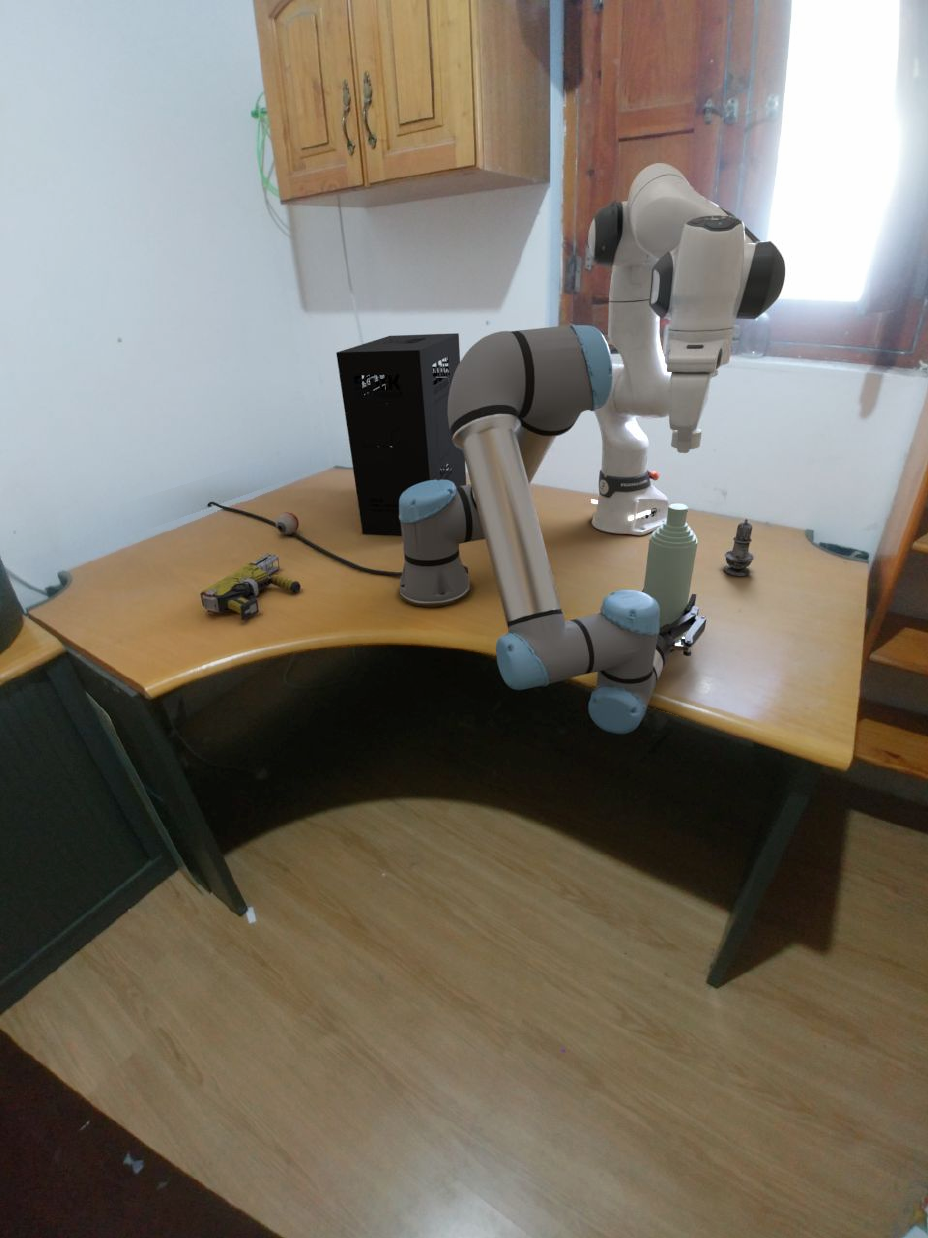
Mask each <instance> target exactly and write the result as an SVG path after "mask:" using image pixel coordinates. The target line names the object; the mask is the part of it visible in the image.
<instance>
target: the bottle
mask: <svg viewBox="0 0 928 1238" xmlns="http://www.w3.org/2000/svg"><path fill="white" fill-rule="evenodd" d="M688 512H689V506H688V505H687V504H684V503H669V506H668V514H667V521H665V522H664V524H661V525H660V527H658V528H657V529H656V530H655V531H652V532H651V534H650V536H649V540H648V541H649V542H648V548H647V549H648V550H647V557H646V567H645V575H644V583H643V588H644V590H643V589H642V590H643V592H644V593H646V594H648V595H650V596H651V597H652V598H654V599H655V600H656V601H657V602H658V605H659V608H660V625H659V627H660V628H661V627H662V626H664V625H666V624H669V625H670V624H671V623H673V622H674V621H676V620H678V619H679V618H681V617H683V616H684V615H685V610H686V607H687V605H688V602H689V600H690V592H691V587H692V581H693V574H694V569H695V561H696V556H697V549H698V544H699V543H698V542H699V540H698V536H697V534H696V533H695V532H694V531H693V530H692V528H691V526H690V525H689V524H688V522H687V514H688ZM683 635H684V633H683V634H682V635H680V636H679V637H677V638H675V639H674V641H675V642H679V640H681V638H682V637H684V636H683Z"/></svg>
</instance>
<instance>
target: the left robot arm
mask: <svg viewBox="0 0 928 1238" xmlns="http://www.w3.org/2000/svg"><path fill="white" fill-rule="evenodd" d="M612 364H613V361H612V355H611V350H610V348H609V344H608V342H607V340H606V338H605V336H604V334H603V333H602V332H601V331H600V330H599V329H598V328H597V327H595V326H593V325H591V324H590V325H589V324H580V325H579V324H574V323H571V324H568V325H559V326H550V327H549V326H548V327H539V328H530V329H519V330H500V331H496V332H492V333H490V334H488V335H485V336H483V337H482V338H480V339H479V340H478V341H476V342H475V343H474V344H473V345H472V346H471V347H469V348H468V350H467V351H466V352H465V354H464V355H463V357H462V358H461V359H460V363H459V365H458V367H457V369H456V371H455V374H454V376H453V379H452V383H451V387H450V391H449V397H448V422H449V428H450V432H451V436H452V441H453V444H454V445H455V446H456V447H457V448H459V449H461V450H463V454H464V458H465V467H466V469H467V474H468V477H469V483H470V484H466V485H463V486H458V487H456V486H455V484H454V483H453V482H452V481H449V480H443V479H441V480H438V481H437V480H430V481H425V482H422V483H418V484H416V485H414V486H411V487H410V488H408V489H407V490H406V491H404V492H403V493H402V495H401V497H400V499H399V519H400V521H401V530H402V535H401V538H402V547H403V556H404V562H403V566H402V567H403V568H402V571H387V570H380V569H374V568H368V567H364V566H361V565H359V564H357V563H355V562H352V561H349V560H348V559H345V558H342V557H340V556H338V555H336V554H334V553H332V552H330V551H328V550H327V549H325V548H322V547H320V545H319V546H318V545H317V544H316V543H314V542H312V541H311V540H308V539H307V538H305V537H304V536H302V535H301V534H298V533H296V532H294V533H292V534H291V536H293V537H296V538H298V539H299V540H301V541H302V542H304V543H306V544H307V545H309V546H311V547H313V548H314V549H315V550H317V551H319V552H321V553H323V554H324V555H327V556H328V557H331V558H333V559H335V560H337V561H339V562H341V563H344V564H346V565H348V566H350V567H352V568H355V569H357V570H359V571H362V572H366V573H371V574H375V575H376V574H378V575H384V576H386V575H387V576H393V577H395V576H396V577H400V579H399V580H400V581H399V587H398V588H399V589H398V590H399V596H400V598H401V600H403V601H404V602H405V603H407V604H409V605H412V606H415V607H419V608H441V607H446V606H450V605H454V604H457V603H458V602H460V601H462V600H463V599H465V598H466V597H467V596H468V595H469V593H470V591H471V585H470V583H471V582H470V579H469V576H468V575H469V567H467V566H466V565H464V563H463V561H462V559H461V556H460V545H461V544H466V543H471V542H477V541H482V540H483V541H484V540H485V544H486V547H487V552H488V555H489V556H488V557H489V560H490V564H491V567H492V571H493V575H494V578H495V583H496V588H497V591H498V595H499V599H500V603H501V607H502V610H503V611H502V612H503V615H504V618H505V622H506V627H507V632H506V634H503V635H500V636H499V637H498V639H497V640H496V643H495V654H496V663H497V666H498V670H499V674H500V676H501V678H502V679H503V681H504V683H505V684H506V685H507V686H508V687H509V688H510V689H512V690H516V691H522V690H527V689H532V688H533V689H534V688H537V687H547V686H548V685H550V684H554V683H557V682H561V681H565V680H568V679H573V678H576V677H580V676H584V675H589V674H594V673H597V678H596V685H595V688H594V689H593V690H592V692H591V693H590V699H589V701H588V704H587V705H588V707H587V709H588V714H589V717H590V718H591V720H592V722H593V723H594V724H595V725H596V726H597V727H598V728H600V729H601V730H603V731H605V732H607V733H610V734H615V735H627V734H630V733H632V732H634V731H635V730H636V729H637V728H638V727H639V725H640V724H641V723H642V720H643V719H644V717H645V716H646V715H647V709H648V706H649V703H650V701H651V698H652V696H653V693H654V690H655V689H656V686H657V684H658V681H659V680H660V677H661V675H662V672H663V669H664V667H665V665H666V662H667V660H668V657H669V655H670V654H672V653H673V652H674V651H680V652H682V655H683V656H686V657H689V656H692V649H693V647H694V645H695V644H696V642H697V641H698V640H699V638H700V637H701V636H702V635H703V633H704V632H705V630H706V625H707V616H706V615H699V611H700V607H699V606H696V600H697V594H696V593H692V594H691V595H690V597H689V599H688V605H687V607H686V610H685V615H684V616H683V617H681V618H679V619H678V620H676V621H674V622H673V623H671V624H670V625H669V624H666V625H664V626H662V627H661V628H660V627H659V625H660V608H659V605H658V602H657V601H656V600H655V599H654V598H652V597H651V596H650V595H648V594H646V593H644V592H643V590H644V587H643V589H641V590H636V589H620V590H614V591H612V592H611V593H610V594H608V595H606V596H605V597H604V598H603V600H602V604H601V606H600V613H596V614H592V615H588V616H583V617H578V618H573V619H570V620H565V616H564V613H563V610H562V606H561V602H560V599H559V595H558V590H557V586H556V583H555V579H554V575H553V572H552V567H551V564H550V560H549V556H548V553H547V549H546V545H545V541H544V537H543V534H542V529H541V525H540V522H539V518H538V514H537V510H536V506H535V503H534V499H533V494H532V492H531V491H532V490H531V488H530V485H531V482H532V481H533V479H534V477H535V475H536V473H537V472H538V471H539V468H540V467H541V464H542V463H543V462H544V460H545V458H546V456H547V454H548V452H549V450H550V449H551V447H552V445H553V443H554V442H555V439H556V438H557V437H558V436H562V435H564V434H566V433H568V432H569V431H570V430H571V429H572V428H573V427H574V425H575V424H576V422H577V421H578V420H579V417H580V416H581V414H582V413H583V412H587V411H589V412H594V411H595V409H599V408H602V407H603V406H604V405H605V404H606V403H607V401H608V399H609V396H610V393H611V388H612V380H613V374H612ZM212 505H213V506H215V507H217V508H220V509H223V510H227V511H231V512H234V513H239V514H241V515H246V516H249V517H252V518H255V519H258V520H261V521H264V522H265V523H269V524H271V525H273V526H275V527H276V521H273V520H271V519H268V518H266V517H263V516H261V515H257V514H255V513H253V512H252V513H251V512H248V511H245V510H242V509H238V508H234V507H229V506H225V505H221V504H219V503H217V502H215V501H209V502H208V503H207V505H206V506H207V507H211V506H212ZM682 634H683V635H684V636H682V638H681V640H679V642H675V641H674V639H675V638H677V637H679V636H680V635H682Z"/></svg>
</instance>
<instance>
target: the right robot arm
mask: <svg viewBox="0 0 928 1238" xmlns="http://www.w3.org/2000/svg"><path fill="white" fill-rule="evenodd" d="M587 237H588V238H587V244H588V250H589V252H590V255H591V259H592V261H593V262H594V264H596V265H597V266H600V267H607V268H612V269H611V275H610V276H611V277H610V282H609V283H610V284H609V292H608V293H609V295H608V297H609V298H608V322H607V323H608V325H607V326H608V327H607V336H608V337H607V338H608V340H609V342H610V344H611V345H612V346H613V347H614V349H616V350H617V352H618V353H619V356H620V358H621V361H622V364H621V363H612V374H613V380H612V388H611V393H610V396H609V399H608V401H607V403H606V404H605V405H604V406H603V407H602V408H599V409H595V411H593V413H594V415H595V417H596V419H597V422H598V426H599V430H600V436H601V468H600V470H599V474H598V492H599V493H598V498H597V499H592V498H591V499H590V501H591V502H590V503H591V504H595V505H596V507H595V511H594V514H593V517H592V520H591V525H592V526H593V527H594V528H595V529H597V530H599V531H601V532H605V533H611V534H623V535H625V534H626V535H632V536H633V535H634V536H645V535H646V534H650V533H652V532H653V531H655V530H656V529H657V528H658V527H660V525H661V524H664V522H665V521H667V514H668V506H669V505H670V503H669V502H670V501H669V498H668V497H667V496H666V495H665V494H664V493H663V492H661V491H660V490H659V489H658V488H656V487H655V486H654V485H652V483H651V480H653V481H658V479H659V478H660V473H659V472H657V471H654V470H651V471H649V470H648V469H647V466H648V458H649V457H648V455H649V446H650V443H649V437H648V435H647V434H646V433H645V432H644V431H643V430H642V428H641V427H640V426H639V424H638V423H639V422H638V420H637V418H640V419H659V418H666V417H668V422H669V429H670V430H672V431H673V430H678V446H677V448H676V451H677V453H681V454H682V453H683V454H687V453H689V452H690V450H691V449H690V447H691V438H692V433H693V431H694V430H695V429H696V428H698V425H699V423H700V419H701V418H702V415H703V413H704V409H705V408H706V405H707V402H708V399H709V394H710V393H709V392H710V386H711V385H710V383H711V380H712V378H716V377H717V376H718V375H719V369H720V368H721V367H722V366H724V365H727V364H728V363H730V358H731V352H732V344H733V339H734V331H735V326H736V325H735V319H736V320H756V319H757V318H759V317H760V316H761V315H763V314H764V313H765V312H766V311H767V310H769V309H770V308H771V307H772V306H773V304H775V302H777V300H778V299H779V297H780V295H781V293H782V291H783V288H784V284H785V279H786V262H785V259H784V257H783V255H782V252H781V251H780V250H779V249H778V247H777V246H776V245H775V244H774V243H773V242H772V241H771V240H764V241H762V240H760V239H759V238H758V237H757V236H756V235H755V234H754V233H753V232H752V231H750V229H749V228H748V227H747V226H745V223H744V222H743V220H741V219H739V218H738V217H736V216H735V214H733V213H732V212H731V211H729V210H727V209H726V208H724V207H721V206H720V205H718V204H716V203H714V202H712V201H711V200H709V199H707V198H706V197H704V196H702V195H701V194H700V193H699V192H698V191H696V190H695V189H694V188H693V187H692V186H691V184H690V182H689V180H688V179H687V177H685V175H684V174H683V173H682V172H681V171H680V170H679V169H678V168H676V167H674V166H673V165H671V164H668V163H665V162H656V163H652V164H650V165H648V166H646V167H645V168H643V169H642V170H641V171H639V173H638V174H637V175H636V176H635V178H634V179H633V181H632V184H631V185H630V189H629V193H628V197H627V200H624V201H617V199H614V200H612V201H611V203H609V204H607V205H605V206H603V207H601V208H599V209H597V211H596V213H595V214H594V215H593V216H592V221H591V223H590V226H589V229H588V236H587ZM661 319H662V320H667V321H669V323H668V327H667V335H666V344H665V354H664V352H663V351H664V350H663V347H662V343H661V335H660V334H661V333H660V322H661V321H660V320H661Z"/></svg>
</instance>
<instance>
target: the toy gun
mask: <svg viewBox="0 0 928 1238" xmlns="http://www.w3.org/2000/svg"><path fill="white" fill-rule="evenodd" d="M275 562H277V564H278V565H277V566H276V565H274V563H275ZM280 568H281V567H280V558H279V556H278V555H277V554H272V553H270V552H269V553H267V554H265V555H263V556H261V557H260V558H258V559H257V560H255V561H253V562H250V563H248V564H246V565H244V566H243V567H240V568H239V569H238V570H236V571H234V572H233V573H231V574H229V575H228V576H226V577H223V579H221V580H218V581H217V582H216V583H214V584H212V585H210V586H209V587H207V588H205V589H204V590H202V591H201V592H200V594H199V595H200V599H201V604H202V607H203V608H204V610H206V612H207V613H211V614H212V615H213V614H214V615H215V614H216V613H220V614H222V613H228V612H231V611H234V612H237V613H239V614H240V615H241V620H243V621H245V620H247V619H249V618H251V617H252V616H254V615H257V614H259V612H260V609H259V602H258V599H257V597H258V596H259V594H260V592H259V591H261V590H263V589H265V588H267V587H269V586H270V585H274V586H277V587H278V588H282V589H285V590H286V591H290V592H292V593H294V594H295V593H298V592H299V591H300V590H301V584H300V582H299V581H297V580H292V579H288V578H287V577H284V576H280V575H279V574H274V573H275V572H276V571H277V570H279V569H280ZM271 574H274V575H273V576H271V577H270V576H269V575H271Z"/></svg>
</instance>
